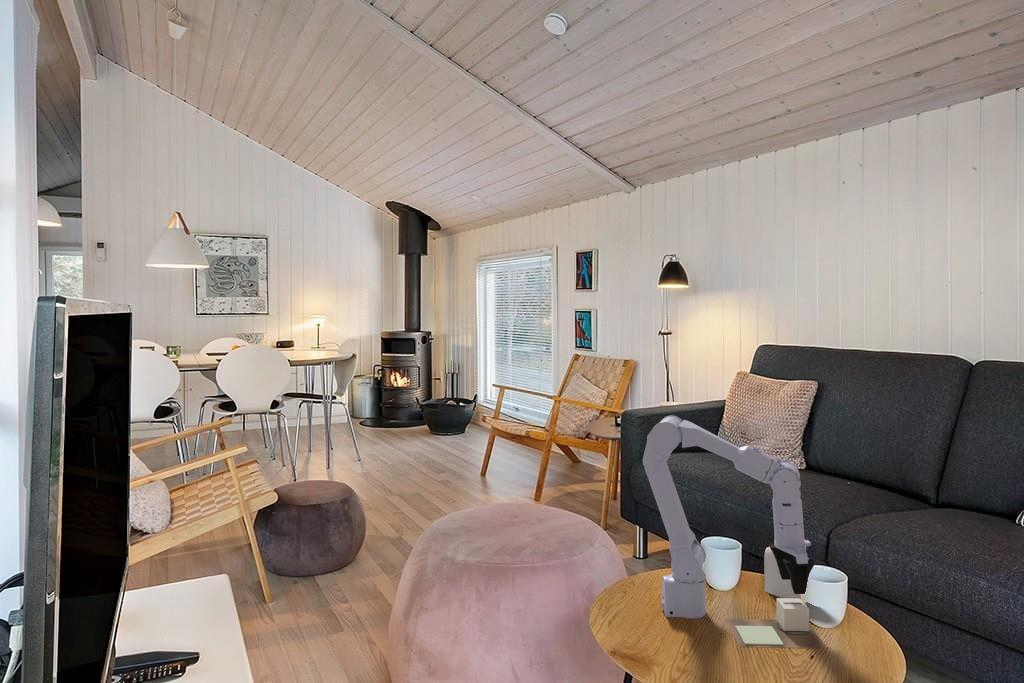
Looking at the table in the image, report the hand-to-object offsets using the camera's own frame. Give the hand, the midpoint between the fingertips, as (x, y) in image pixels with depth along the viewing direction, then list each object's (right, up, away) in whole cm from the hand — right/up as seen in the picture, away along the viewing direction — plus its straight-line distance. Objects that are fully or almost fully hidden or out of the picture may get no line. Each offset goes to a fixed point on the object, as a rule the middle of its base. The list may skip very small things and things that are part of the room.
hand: (793, 586), depth 140 cm
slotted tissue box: (0, -8, 0) cm, 8 cm away
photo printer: (+5, -9, +16) cm, 19 cm away
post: (0, -9, 0) cm, 9 cm away
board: (-5, -10, -2) cm, 11 cm away
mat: (-8, -9, -3) cm, 13 cm away
